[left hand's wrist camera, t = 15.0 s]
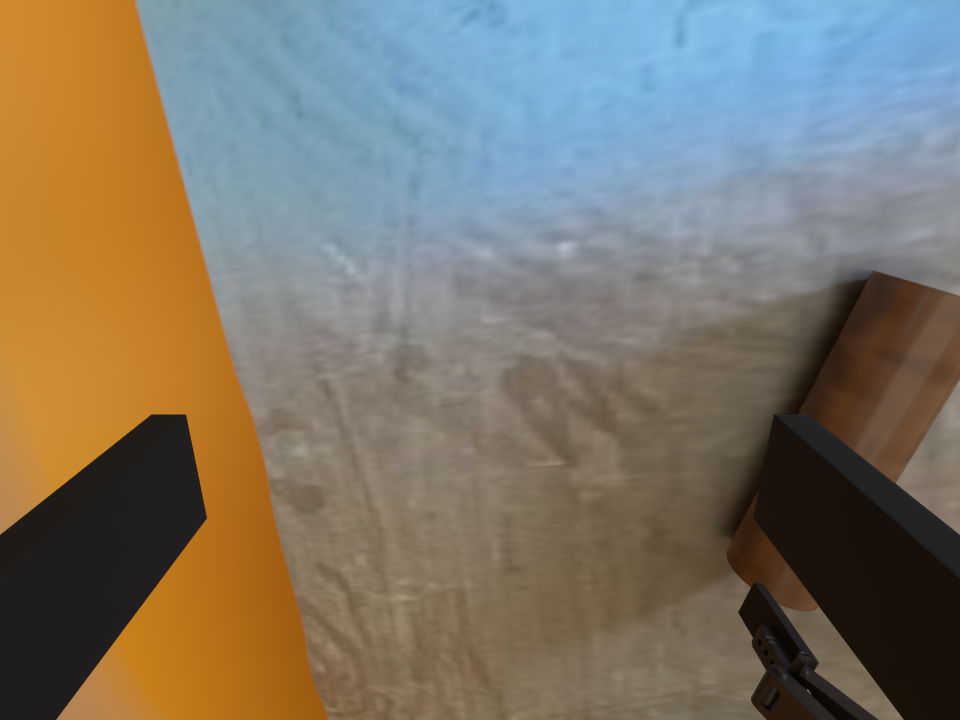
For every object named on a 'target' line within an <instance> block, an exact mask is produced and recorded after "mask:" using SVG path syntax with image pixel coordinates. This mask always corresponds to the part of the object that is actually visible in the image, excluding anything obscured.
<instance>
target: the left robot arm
mask: <svg viewBox="0 0 960 720" xmlns="http://www.w3.org/2000/svg"><path fill="white" fill-rule="evenodd" d="M206 519H207V516H206V511H205V506H204V501H203V496H202V491H201V486H200V481H199V476H198V472H197V467H196V462H195V457H194V452H193V447H192V442H191V437H190V432H189V427H188V422H187V417H186V415H150V416H149V417H148V418H147V419H146V420H144V421H143V422H142V423H140V424H139V425H138V426H137V427H135V428H134V429H133V430H132V431H130V432H129V433H128V434H127V435H125V436H124V437H123V438H121V439H120V440H119V441H118V442H116V443H115V444H114V445H113V446H111V447H110V448H109V449H108V450H106V451H105V452H104V453H103V454H101V455H100V456H99V457H98V458H96V459H95V460H94V461H93V462H91V463H90V464H89V465H88V466H86V467H85V468H84V469H82V470H81V471H80V472H79V473H77V474H76V475H75V476H74V477H72V478H71V479H70V480H69V481H67V482H66V483H65V484H64V485H62V486H61V487H60V488H59V489H57V490H56V491H55V492H54V493H52V494H51V495H50V496H49V497H47V498H46V499H45V500H44V501H42V502H41V503H40V504H39V505H37V506H36V507H35V508H34V509H32V510H31V511H30V512H28V513H27V514H26V515H25V516H23V517H22V518H21V519H20V520H18V521H17V522H16V523H15V524H13V525H12V526H11V527H10V528H8V529H7V530H6V531H4V532H3V533H2V534H1V535H0V720H56V719H57V718H58V716H59V715H60V714H61V712H62V711H63V710H64V708H65V707H66V706H67V704H68V703H69V702H70V700H71V699H72V698H73V696H74V695H75V694H76V692H77V691H78V690H79V688H80V687H81V686H82V684H83V683H84V682H85V680H86V679H87V678H88V676H89V675H90V674H91V672H92V671H93V670H94V668H95V667H96V666H97V664H98V663H99V662H100V660H101V659H102V658H103V656H104V655H105V654H106V652H107V651H108V650H109V648H110V647H111V646H112V644H113V643H114V642H115V640H116V639H117V638H118V636H119V635H120V634H121V632H122V631H123V630H124V628H125V627H126V626H127V624H128V623H129V622H130V620H131V619H132V618H133V616H134V615H135V614H136V612H137V611H138V610H139V608H140V607H141V606H142V604H143V603H144V602H145V600H146V599H147V598H148V596H149V595H150V594H151V592H152V591H153V590H154V588H155V587H156V586H157V584H158V583H159V582H160V580H161V579H162V578H163V576H164V575H165V574H166V572H167V571H168V570H169V568H170V567H171V566H172V564H173V563H174V562H175V560H176V559H177V558H178V556H179V555H180V554H181V552H182V551H183V550H184V548H185V547H186V546H187V544H188V543H189V542H190V540H191V539H192V538H193V536H194V535H195V533H196V532H197V531H198V530H199V528H200V527H201V525H202V524H203V523H204V521H205V520H206ZM753 519H754V520H755V521H756V523H757V524H758V525H759V527H760V528H761V530H762V531H763V532H764V534H765V535H766V536H767V538H768V539H769V540H770V542H771V543H772V544H773V546H774V547H775V548H776V550H777V551H778V552H779V554H780V555H781V556H782V558H783V559H784V560H785V562H786V563H787V564H788V566H789V567H790V568H791V570H792V571H793V572H794V574H795V575H796V576H797V578H798V579H799V580H800V582H801V583H802V584H803V586H804V587H805V588H806V590H807V591H808V592H809V594H810V595H811V596H812V598H813V599H814V600H815V602H816V603H817V604H818V606H819V607H820V608H821V610H822V611H823V612H824V614H825V615H826V616H827V618H828V619H829V620H830V622H831V623H832V624H833V626H834V627H835V628H836V630H837V631H838V632H839V634H840V635H841V636H842V638H843V639H844V640H845V642H846V643H847V644H848V646H849V647H850V648H851V650H852V651H853V652H854V654H855V655H856V656H857V658H858V659H859V660H860V662H861V663H862V664H863V666H864V667H865V668H866V670H867V671H868V672H869V674H870V675H871V676H872V678H873V679H874V680H875V682H876V683H877V684H878V686H879V687H880V688H881V690H882V691H883V692H884V694H885V695H886V696H887V698H888V699H889V700H890V702H891V703H892V704H893V706H894V707H895V708H896V710H897V711H898V712H899V714H900V715H901V716H902V718H903V719H904V720H960V535H959V534H958V533H957V532H956V531H954V530H953V529H952V528H950V527H949V526H948V525H947V524H945V523H944V522H943V521H942V520H940V519H939V518H938V517H937V516H935V515H934V514H933V513H932V512H930V511H929V510H928V509H927V508H925V507H924V506H923V505H922V504H920V503H919V502H918V501H917V500H915V499H914V498H913V497H911V496H910V495H909V494H908V493H906V492H905V491H904V490H903V489H901V488H900V487H899V486H898V485H896V484H895V483H894V482H893V481H891V480H890V479H889V478H888V477H886V476H885V475H884V474H883V473H881V472H880V471H879V470H878V469H876V468H875V467H874V466H872V465H871V464H870V463H869V462H867V461H866V460H865V459H864V458H862V457H861V456H860V455H859V454H857V453H856V452H855V451H854V450H852V449H851V448H850V447H849V446H847V445H846V444H845V443H844V442H842V441H841V440H840V439H839V438H837V437H836V436H835V435H833V434H832V433H831V432H830V431H828V430H827V429H826V428H825V427H823V426H822V425H821V424H820V423H818V422H817V421H816V420H815V419H813V418H812V417H811V416H810V415H774V417H773V422H772V427H771V432H770V437H769V442H768V447H767V452H766V457H765V462H764V467H763V472H762V476H761V481H760V486H759V491H758V496H757V501H756V506H755V511H754V516H753Z"/></svg>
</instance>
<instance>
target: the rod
mask: <svg viewBox="0 0 960 720" xmlns="http://www.w3.org/2000/svg"><path fill="white" fill-rule="evenodd" d="M959 380H960V296H958V295H955V294H951V293H948V292H945V291H941V290H938V289H935V288H931V287H928V286H924V285H921V284H918V283H914V282H911V281H907V280H904V279H901V278H897V277H894V276H890V275H887V274H884V273H880V272H877V271H872V273H871V275H870V277H869V279H868V281H867V283H866V285H865V287H864V289H863V290H862V292H861V294H860V296H859V298H858V300H857V302H856V304H855V306H854V308H853V310H852V311H851V313H850V315H849V317H848V319H847V321H846V323H845V325H844V327H843V329H842V331H841V332H840V334H839V336H838V338H837V340H836V342H835V344H834V346H833V348H832V350H831V352H830V354H829V355H828V357H827V359H826V361H825V363H824V365H823V367H822V369H821V371H820V373H819V375H818V376H817V378H816V380H815V382H814V384H813V386H812V388H811V390H810V392H809V394H808V396H807V397H806V399H805V401H804V403H803V405H802V407H801V409H800V411H799V413H798V415H810V416H811V417H812V418H813V419H815V420H816V421H817V422H818V423H820V424H821V425H822V426H823V427H825V428H826V429H827V430H828V431H830V432H831V433H832V434H833V435H835V436H836V437H837V438H839V439H840V440H841V441H842V442H844V443H845V444H846V445H847V446H849V447H850V448H851V449H852V450H854V451H855V452H856V453H857V454H859V455H860V456H861V457H862V458H864V459H865V460H866V461H867V462H869V463H870V464H871V465H872V466H874V467H875V468H876V469H878V470H879V471H880V472H881V473H883V474H884V475H885V476H886V477H888V478H889V479H890V480H891V481H893V482H894V483H895V484H896V482H897V480H898V479H899V477H900V476H901V474H902V472H903V471H904V469H905V468H906V466H907V464H908V463H909V461H910V459H911V458H912V456H913V455H914V453H915V451H916V450H917V448H918V447H919V445H920V443H921V442H922V440H923V438H924V437H925V435H926V434H927V432H928V430H929V429H930V427H931V426H932V424H933V422H934V421H935V419H936V418H937V416H938V414H939V413H940V411H941V409H942V408H943V406H944V405H945V403H946V401H947V400H948V398H949V397H950V395H951V393H952V392H953V390H954V388H955V387H956V385H957V384H958V382H959ZM758 491H759V489H758ZM758 491H757V493H756V495H755V497H754V499H753V501H752V503H751V504H750V506H749V508H748V510H747V512H746V514H745V516H744V518H743V520H742V522H741V524H740V525H739V527H738V529H737V531H736V533H735V535H734V537H733V539H732V541H731V543H730V545H729V547H728V548H727V552H726V555H727V559H728V562H729V564H730V566H731V567H732V569H733V570H734V571H735V572H736V574H737V575H738V576H739V577H740V578H741V579H742V580H743V581H744V582H745V583H747V584H748V585H749V586H750V587H752V585H753V583H754V582H756V583H760V584H764V585H765V586H766V588H767V589H768V591H769V592H770V593H771V595H772V596H773V598H774V599H775V601H776V602H777V603H778V604H780V605H783V606H785V607H788V608H791V609H795V610H800V611H812V610H815V609H817V608H818V607H819V606H818V604H817V603H816V602H815V600H814V599H813V598H812V596H811V595H810V594H809V592H808V591H807V590H806V588H805V587H804V586H803V584H802V583H801V582H800V580H799V579H798V578H797V576H796V575H795V574H794V572H793V571H792V570H791V568H790V567H789V566H788V564H787V563H786V562H785V560H784V559H783V558H782V556H781V555H780V554H779V552H778V551H777V550H776V548H775V547H774V546H773V544H772V543H771V542H770V540H769V539H768V538H767V536H766V535H765V534H764V532H763V531H762V530H761V528H760V527H759V525H758V524H757V523H756V521H755V520H754V519H753V516H754V511H755V506H756V501H757V496H758Z"/></svg>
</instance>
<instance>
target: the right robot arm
mask: <svg viewBox="0 0 960 720" xmlns="http://www.w3.org/2000/svg"><path fill="white" fill-rule="evenodd" d="M738 613H739V615H740V616H741V618H742V620H743V621H744V623H745V625H746V626H747V628H748V630H749V632H750V633H751V635H752V637H753V639H752V647H753V648H754V650H755V652H756V653H757V655H758V657H759V659H760V660H761V662H762V664H763V666H764V667H765V669H766V672H765V674H764V676H763V678H762V679H761V681H760V683H759V685H758V686H757V688H756V690H755V692H754V694H753V695H752V697H751V701H752V703H753V705H754V706H755V708H756V709H757V710H758V711H759V712H760V713H761V714H762V715H763V716H764V717H765V718H766V719H767V720H878V719H877V718H875V717H874V716H873V715H871V714H870V713H869V712H867V711H866V710H865V709H863V708H862V707H861V706H859V705H858V704H857V703H855V702H854V701H853V700H851V699H850V698H849V697H848V696H846V695H845V694H844V693H842V692H841V691H840V690H838V689H837V688H836V687H834V686H833V685H832V684H830V683H829V682H828V681H826V680H825V679H824V678H822V677H821V676H820V675H818V674H817V673H816V672H814V670H815V668H816V666H817V665H818V663H819V662H818V661H817V659H816V658H815V657H814V655H813V654H812V652H811V651H810V649H809V648H808V646H807V645H806V644H805V642H804V641H803V639H802V638H801V636H800V635H799V634H798V632H797V631H796V629H795V628H794V626H793V625H792V624H791V622H790V621H789V619H788V618H787V616H786V615H785V614H784V612H783V611H782V609H781V608H780V606H779V605H778V603H777V602H776V601H775V599H774V598H773V596H772V595H771V593H770V592H769V591H768V589H767V588H766V586H765V585H764V584H760V583H756V582H754V583H753V585H752V587H751V589H750V591H749V593H748V595H747V597H746V599H745V600H744V602H743V604H742V606H741V608H740V610H739V612H738ZM807 689H808V690H809V691H810V693H811V694H810V693H809V692H807Z"/></svg>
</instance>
